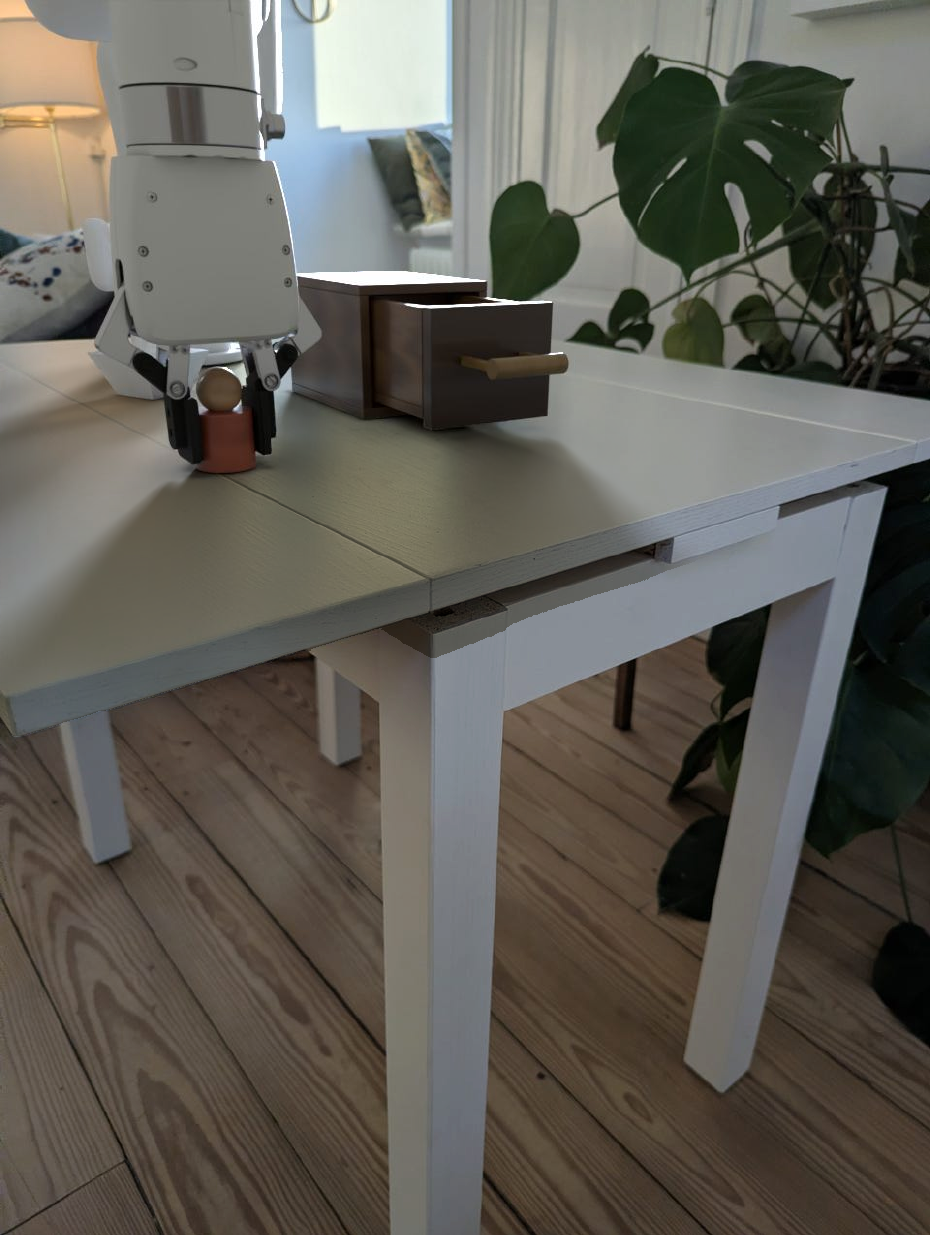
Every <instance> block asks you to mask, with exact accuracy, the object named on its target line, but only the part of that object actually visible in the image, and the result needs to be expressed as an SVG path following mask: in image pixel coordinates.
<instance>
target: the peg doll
mask: <svg viewBox="0 0 930 1235" xmlns="http://www.w3.org/2000/svg"><path fill="white" fill-rule="evenodd" d="M242 385H243V384H242V383H241V380H240V379H239V377H238V376H237V375H236V373H234V372H233V371H232V370H231V369H228V368H227V367H223V366H213V367H209V368H206V369H205V370H204V371H202V372H201V374H200V375H198V378H197V379H196V383H195V394H196V397H197V400H198V402H199V403H200V404H201V405H200V406H198V409H199V418H200V428H201V437H202V447H203V456H204V460H203V461H201V463H200V464H195V468H196V469H197V470H198V471H199V472H200V471H201V472H203V473H211V474H231V473H234V474H235V473H240V472H245V471H248V470H251V469H253V468H255V467H256V466H257V452H256V451H255V439H254V426H253V414H252V408H250V407H248V406H244V405H241V404H240V403H241V398H242Z"/></svg>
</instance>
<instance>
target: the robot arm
mask: <svg viewBox="0 0 930 1235" xmlns="http://www.w3.org/2000/svg"><path fill="white" fill-rule="evenodd" d="M24 3H25V4H26V6H27V9H28V10H29V11H30V13H31V14H32V15H33V17H34V19H35V20H36V21H37V22H38V23H39V24H40V25H41V26H42V27H43V28H45V29H46V30H48V31H49V32H51V33H52V34H55V35H57V36H59V37H63V38H64V39H69V40H74V41H75V40H76V41H85V42H97V46H96V54H95V56H96V57H95V58H96V68H97V73H98V78H99V83H100V87H101V91H102V95H103V98H104V102H105V106H106V111H107V114H108V118H109V121H110V126H111V130H112V135H113V139H114V145H115V148H116V154H117V155H116V156H111V157H110V166H109V167H110V169H109V187H108V188H109V190H108V191H109V192H108V198H109V200H108V201H109V202H108V204H109V206H108V208H109V235H110V242H111V254H112V269H113V283H114V291H113V293H114V297H113V300H112V302H111V304H110V305H109V308H108V310H107V313H106V315H105V317H104V318H103V321H102V323H101V325H100V327H99V329H98V331H97V334H96V336H95V338H94V341H93V345H94V348H95V349H96V350H97V351H100V352H101V353H103V354H105V355H107V356H109V357H111V358H113V359H115V360H117V361H119V362H121V363H122V364H124V365H126V366H128V367H130V368H132V369H134V370H135V371H136V372H138V373H139V374H140V375H141V376H142V377H144V378H145V379H146V380H147V381H148V382H150V383H151V384H152V385H153V386H155V387H156V388H157V389H158V390H159V391H160V392H162V393H163V397H164V398H163V404H164V413H165V421H166V430H167V436H168V437H167V438H168V442H169V445H170V447H171V449H172V450H176V451H177V453H178V455H179V457H180V458H182V459H183V460H185V461H187V462H188V464H190V465H196V464H200V463H201V461H203V460H204V456H203V447H202V437H201V428H200V418H199V409H198V407H199V403H198V402H199V401H198V399H195V398H194V397H192V396H191V391H190V388H189V387H188V372H189V355H190V348H194V349H203V350H209V352H208V354H207V356H206V358H205V361H204V363H203V365H202V367H204V366H213V365H215V366H216V365H223V364H224V365H225V364H232V363H236V362H240V361H242V362H243V366H244V370H245V373H246V378H245V384H241V385H242V398H241V400H240V405H244V406H248V407H250V408H252V414H253V426H254V439H255V451H256V454H259V455H262V456H269V455H272V454H273V443H272V439H275V438H277V433H278V431H277V415H276V405H275V404H276V402H275V391H276V390H278V389H279V388H280V386H281V381H282V379H283V378H284V376H285V375H286V374H287V373H288V371H289V370H291V366H292V365H293V364H294V362H295V361H296V360H297V358H298V356H299V355H301V354H303V353H304V352H306V351H307V350H308V349H309V348H311V347H312V346H313V345H314V344H316V343H317V342H318V341H319V340H320V339H321V337H322V331H321V329H320V327H319V326H318V324H317V322H316V321H315V319H314V318H313V316H312V314H311V313H310V311H309V310H308V308H307V307H306V305H305V303H304V302H303V300H302V299H301V297H300V295H299V294H298V283H297V274H298V273H297V265H296V260H295V259H296V257H295V251H294V243H293V237H292V231H291V225H290V219H289V214H288V209H287V205H286V199H285V196H284V192H283V191H284V190H283V187H282V183H281V179H280V176H279V172H278V168H277V166H276V162H275V161H274V160H265V159H266V158H265V151H266V150H268V142H272V140H284V138H285V136H286V122H285V117H284V115H283V114H281V113H282V104H283V73H282V72H283V69H282V68H283V67H282V31H281V30H282V29H281V24H282V23H281V0H24ZM130 334H131V335H133V336H136V337H140V338H142V339H143V340H145V341H147V342H150V343H153V344H156V359H155V358H154V357H153V356H151V355H150V354H148V353H146V352H144V351H142V350H140V349H139V348H137V347H135V346H133V345H132V343H131V342H130V340H129V335H130ZM131 335H130V336H131ZM278 339H280V340H278ZM272 340H278V341H275V342H274V343H273V342H272Z"/></svg>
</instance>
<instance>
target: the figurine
mask: <svg viewBox="0 0 930 1235" xmlns="http://www.w3.org/2000/svg"><path fill="white" fill-rule="evenodd" d="M81 231H82V236H83V243H84V250H85V257H86V264H87V268H88V274H89V277H90V280H91V282H92V284H93V285H94V286H95V288H97V289H98V290H100V291H103V292H114V283H113V269H112V254H111V238H110V228H109V226H108V224H107V222H106V221H105V220H104V219H102V218H100V217H88V218H85V219H84V220H83V222H82V230H81ZM129 335H130V341H131V342H130V343H131V344H132V345H133V346H135V347H137V348H139V349H140V350H142V351H144V352H146V353H148V354H150V355H151V356H153V357H154V358H155V359H156V344H153V343H150V342H147V341H145V340H143V339H142V338H140V337H136V336H133V335H131V334H129ZM208 352H209V350H203V349H194V348H190V355H189V372H188V387H189V388H190V392H191V391H192V389H193V387H194V385H195V382H196V381H197V379H198V378H197V377H199V373H200V371H201V369H202V368H203V366H204V365H203V363H204V361H205V358H206V356H207V354H208ZM87 354H88V356H89V357H90V359H91V360H92V361H93V363H94V365H96V367H97V368H98V369H99V371H100V372H101V373H102V375H103V376H104V378H105V379H106V380H107V381H108V383H109V384H110V386H111V388H113V390H114V391H115V393H116V394H117V395H118V396H124V397H131V398H138V399H143V400H144V399H145V400H151V401H154V400H158V399H164V397H163V393H162V392H160V391H159V390H158V389H157V388H156V387H155V386H153V385H152V384H151V383H150V382H148V381H147V380H146V379H145V378H144V377H142V376H141V375H140V374H139V373H138V372H136V371H135V370H134V369H132V368H130V367H128V366H126V365H124V364H122V363H121V362H119V361H117V360H115V359H113V358H111V357H109V356H107V355H105V354H103V353H101V352H100V351H98V350H97V351H92V352H90V351H89V352H87ZM202 365H203V366H202Z"/></svg>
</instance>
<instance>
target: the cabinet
mask: <svg viewBox="0 0 930 1235" xmlns="http://www.w3.org/2000/svg"><path fill="white" fill-rule="evenodd" d="M296 274H297V283H298V294H299V295H300V297H301V299H302V300H303V302H304V303H305V305H306V307H307V308H308V310H309V311H310V313H311V314H312V316H313V318H314V319H315V321H316V322H317V324H318V326H319V327H320V329H321V331H322V337H321V339H320V340H319V341H318V342H317V343H316V344H314V345H313V346H312V347H311V348H309V349H308V350H307V351H306V352H304V353H303V354H301V355H299V356H298V358H297V360H296V361H295V362H294V364H293V365H292V366H291V367H290V377H291V391H292V392H293V393H295V394H298V395H301V396H303V397H306V398H308V399H311V400H313V401H316V402H319V403H321V404H324V405H326V406H328V407H331V408H334V409H336V410H339V411H341V412H344V413H346V414H349V415H351V416H353V417H356V418H359V419H361V420H363V421H364V420H365V421H366V420H373V419H382V418H390V417H391V418H392V417H400V416H409V415H411V414H408V413H405V412H402V411H400V410H397V409H394V408H391V407H388V406H386V405H383V404H380V403H377V402H374V401H372V390H371V356H370V322H369V296H373V295H400V294H428V293H456V294H464V295H471V296H478V297H486V298H488V281H487V280H481V279H472V278H471V279H470V278H463V277H456V276H455V277H454V276H447V275H437V274H428V273H418V272H410V271H401V270H399V271H397V270H396V271H357V272H356V271H355V272H353V271H351V272H350V271H349V272H309V273H306V272H305V273H296Z"/></svg>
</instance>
